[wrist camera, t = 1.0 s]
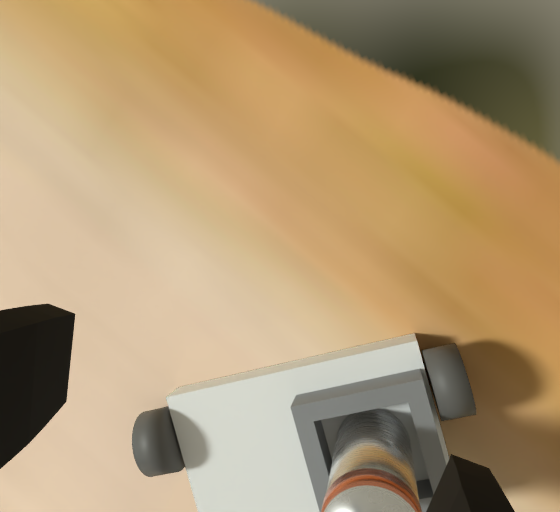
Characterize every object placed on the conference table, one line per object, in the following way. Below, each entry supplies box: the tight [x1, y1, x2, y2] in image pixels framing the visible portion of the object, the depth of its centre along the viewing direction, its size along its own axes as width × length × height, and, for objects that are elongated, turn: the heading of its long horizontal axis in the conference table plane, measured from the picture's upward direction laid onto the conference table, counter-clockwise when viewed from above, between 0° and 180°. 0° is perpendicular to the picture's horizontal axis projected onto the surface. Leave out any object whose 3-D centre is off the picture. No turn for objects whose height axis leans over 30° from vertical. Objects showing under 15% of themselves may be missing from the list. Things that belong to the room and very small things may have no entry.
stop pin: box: [321, 408, 422, 512], centre depth 19 cm, size 3×3×7 cm
